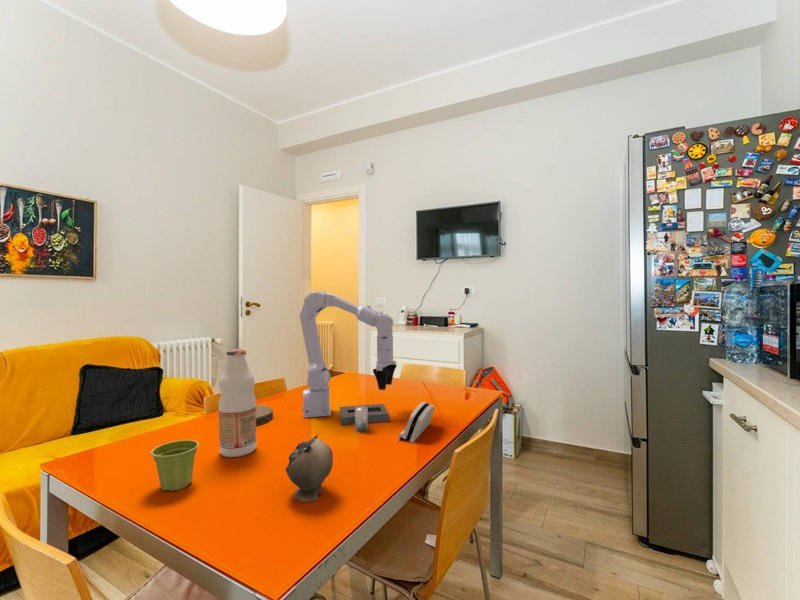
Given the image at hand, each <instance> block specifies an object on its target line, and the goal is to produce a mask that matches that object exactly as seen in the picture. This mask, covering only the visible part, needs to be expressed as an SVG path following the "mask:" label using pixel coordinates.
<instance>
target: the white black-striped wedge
mask: <svg viewBox="0 0 800 600" xmlns="http://www.w3.org/2000/svg"><path fill="white" fill-rule="evenodd" d="M435 409H436V407H435V406H434V405H433V404H429V402H426V401H422V402H420V403H419V404H418V405H417V406H416V407H415V409H413V411H412V413H411V414H410V416H409V418H408V421H407V423H406V426H405V429H404V430H403V431H402V432H400V434H398V438H397V441H400V440H401V439H404V440H406V439H407V440H409V441H408V442H410V443H415V442H416V440H417V439H418V438H419V437H420V436H421V434H423V432H424V431H425V430H426V429H427V428H428V426H429V425H430V424H431V421H432V417H433V414H434V412H435Z"/></svg>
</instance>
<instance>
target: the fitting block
mask: <svg viewBox="0 0 800 600" xmlns="http://www.w3.org/2000/svg"><path fill="white" fill-rule="evenodd" d="M359 406H365V407H367V408H368V424H370V423H371V424H372V423H374V424H375V423H383V422H385V423H386V422H390V413H389V411H388V409H387V407H386V406H385V404H384V403H375V404H373V403H372V404H361V405H359V404H358V405H349V406H339V410H338V411H339V419H340V424H341V426H346V425H348V426H349V425H355V408H356V407H359Z"/></svg>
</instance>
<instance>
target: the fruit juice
mask: <svg viewBox="0 0 800 600" xmlns="http://www.w3.org/2000/svg"><path fill="white" fill-rule="evenodd" d="M246 356H247V349H245V348H234V349H228V350H226V357H227V362H226V364H225V367H224V369H223V372H222V375H221V376H220V378H219V379H218V388H219V392H220V396H219V400H218V424H219V425H218V434H219V437H218V438H219V453H220V455H221V456H223V457H226V458H236V457H238V458H239V457H242V456H246V455H249V454H251V453H253V452H254V451H255V450H256V447H257V426H256V405H257V404H256V395H255V393H254V387H255V376H254V375H253V373H252V371H251V369H250V367H249V364H248V362H247V360H246Z"/></svg>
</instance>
